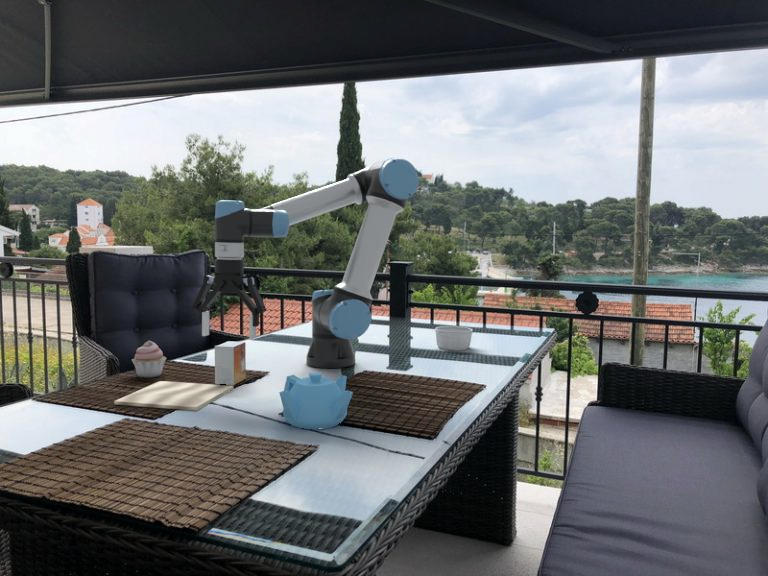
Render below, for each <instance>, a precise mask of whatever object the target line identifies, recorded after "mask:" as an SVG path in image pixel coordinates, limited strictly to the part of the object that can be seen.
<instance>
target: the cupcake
mask: <svg viewBox="0 0 768 576" xmlns="http://www.w3.org/2000/svg"><path fill="white" fill-rule="evenodd" d="M166 360H167V357H166V356H164V354H163V351H162V350H161V348H159V346H158V345H157V343H155V342H154V341H151V340H147V341H146V342H144V344H143V345H142V346H140V347H138V348H136V352H135V354H134V358H132V359H131V362H132V363H133V365H134V369H135V372H136V375H137V376H138V377H139V378H143V377H144V378H146V379H147V378H148V379H149V378H156V377H160V376H161V375H162V373H163V369H164V365H165V363H166Z"/></svg>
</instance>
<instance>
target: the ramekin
mask: <svg viewBox="0 0 768 576" xmlns="http://www.w3.org/2000/svg"><path fill="white" fill-rule="evenodd" d="M434 332H435V339H436V345H437V347H438V349H441V350H443V351H444V350H445V351H465V350H468V349H469V348H470V345H471V342H472V336H473V333H474V332H473V328H470V327H466V326H461V325H460V326H459V325H441V326H436V327H435V329H434Z"/></svg>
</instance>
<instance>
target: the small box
mask: <svg viewBox="0 0 768 576" xmlns="http://www.w3.org/2000/svg"><path fill="white" fill-rule="evenodd" d="M246 358H247V357H246V342H245V341H229V340H228V341H226V342H223V343H221V344H218V345H214V385H220V384H226V385H227V386H236V384H238V383H241V382H242V381H245V380H246V378H247V377H246V376H247V375H246V368H247V367H246V363H247V362H246V360H247V359H246ZM244 379H245V380H244Z"/></svg>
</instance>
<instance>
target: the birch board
mask: <svg viewBox="0 0 768 576" xmlns="http://www.w3.org/2000/svg"><path fill="white" fill-rule="evenodd" d="M233 390H234V385H220V384H212V383H211V384H210V383H208V384H207V383H194V382H181V381H179V382H178V381H166V380H165V381H164V380H163V381H162V380H159V381H157V382H154V383H152V384H150V385H148V386H146V387H143V388H141V389H139V390H137V391H134V392H132V393H130V394H127V395H125V396H123V397H121V398H118V399H116V400H114V401H113V402H114V405H116V406H117V405H118V406H119V405H120V406H129V407H130V406H132V407H142V408H143V407H144V408H156V409H157V408H159V409H170V410H171V409H172V410H181V411H182V410H183V411H198V410H201V408H204V407H206V406H207V405H208V404H210V403H212V402H214V401H216V400H217V399H218V398H221V397H222V396H224V395H225V394H228V393H229V392H231V391H233Z"/></svg>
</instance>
